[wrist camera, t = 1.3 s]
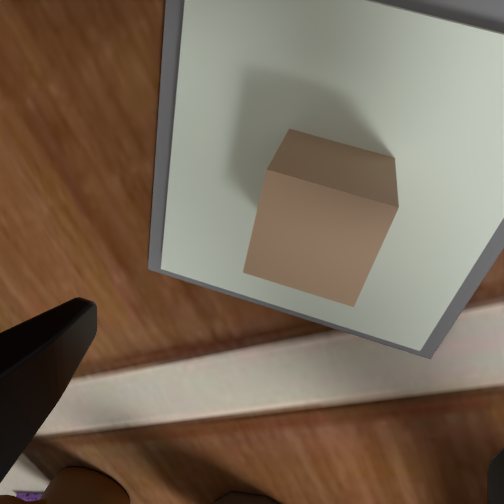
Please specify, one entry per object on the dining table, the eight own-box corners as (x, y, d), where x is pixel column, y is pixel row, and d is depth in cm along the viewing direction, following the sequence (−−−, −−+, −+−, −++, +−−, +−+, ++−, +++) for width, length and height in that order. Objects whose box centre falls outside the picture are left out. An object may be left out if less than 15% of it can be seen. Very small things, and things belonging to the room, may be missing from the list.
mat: (429, 351, 22) (430, 359, 21) (152, 264, 23) (147, 269, 23) (640, 25, 13) (648, 27, 13) (177, -85, 14) (171, -87, 14)
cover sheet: (418, 339, 21) (427, 424, 17) (167, 260, 22) (121, 322, 18) (592, 54, 13) (679, 90, 10) (196, -43, 15) (130, -47, 11)
